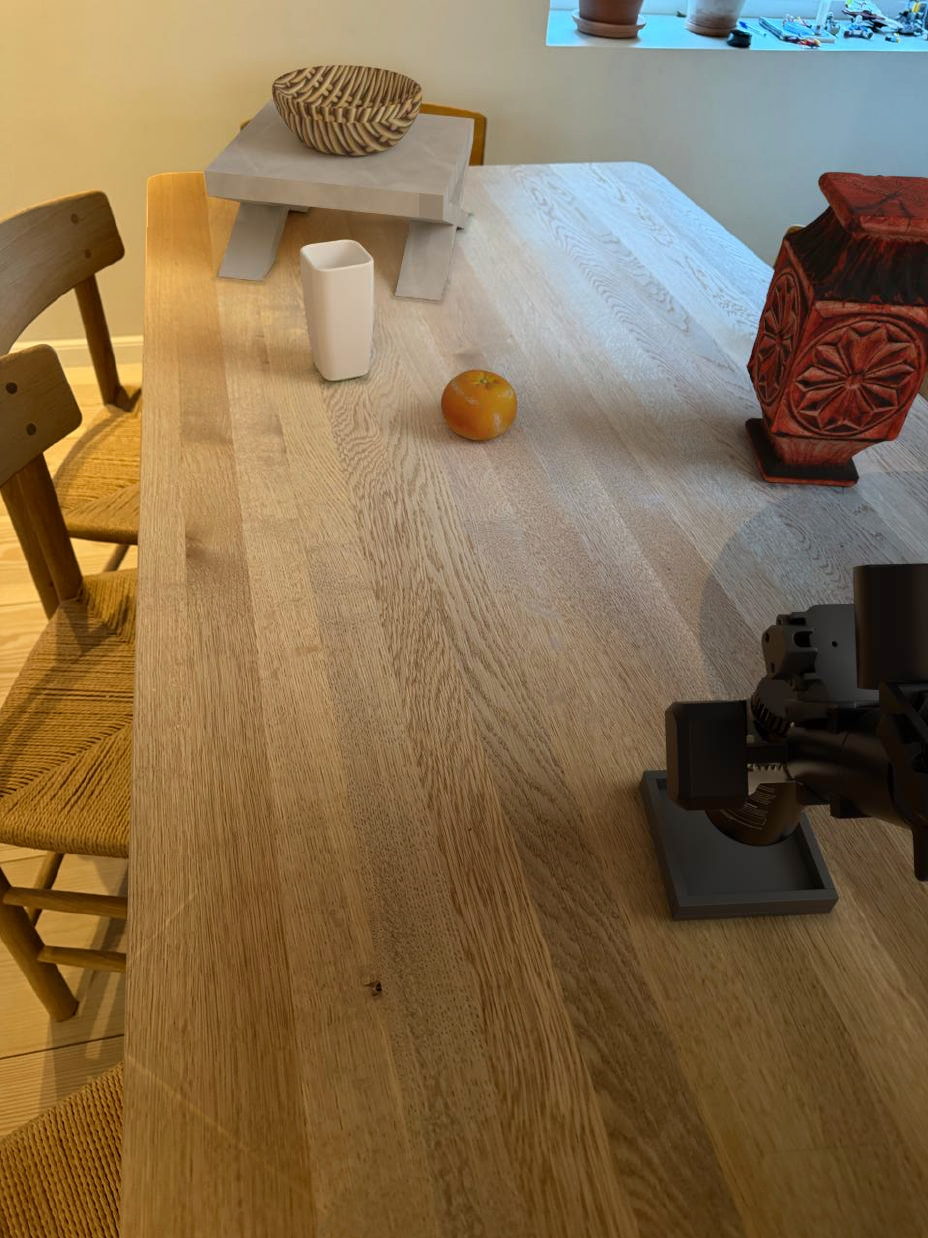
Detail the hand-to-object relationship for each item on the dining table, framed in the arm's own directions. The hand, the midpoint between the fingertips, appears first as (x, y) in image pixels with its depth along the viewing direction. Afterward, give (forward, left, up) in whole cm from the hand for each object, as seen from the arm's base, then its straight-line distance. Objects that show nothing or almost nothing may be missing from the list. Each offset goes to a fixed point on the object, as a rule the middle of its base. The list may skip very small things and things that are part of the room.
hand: (766, 735), depth 65 cm
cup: (+57, +49, -12) cm, 76 cm away
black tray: (-1, 0, -12) cm, 12 cm away
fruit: (+49, +30, -12) cm, 58 cm away
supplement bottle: (-1, 0, -7) cm, 7 cm away
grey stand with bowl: (+94, +59, -12) cm, 111 cm away
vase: (+54, -7, -12) cm, 56 cm away
